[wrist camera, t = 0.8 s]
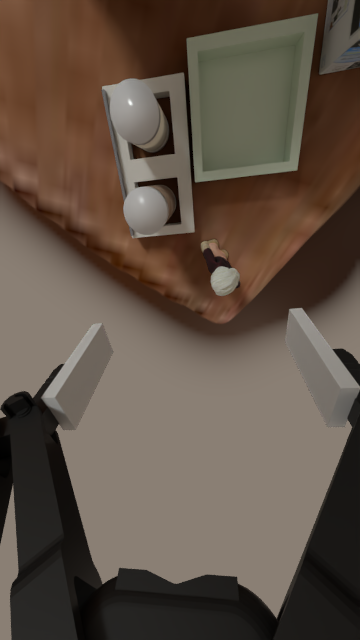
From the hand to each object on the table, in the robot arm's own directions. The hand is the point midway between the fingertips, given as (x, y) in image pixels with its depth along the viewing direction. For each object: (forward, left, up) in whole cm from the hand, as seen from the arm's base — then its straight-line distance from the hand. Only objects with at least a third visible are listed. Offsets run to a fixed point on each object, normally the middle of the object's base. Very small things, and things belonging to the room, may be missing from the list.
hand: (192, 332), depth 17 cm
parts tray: (-15, +6, -22) cm, 28 cm away
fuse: (-15, -5, -22) cm, 27 cm away
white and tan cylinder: (-7, -5, -22) cm, 24 cm away
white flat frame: (-11, -5, -22) cm, 25 cm away
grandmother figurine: (+1, +3, -23) cm, 23 cm away
